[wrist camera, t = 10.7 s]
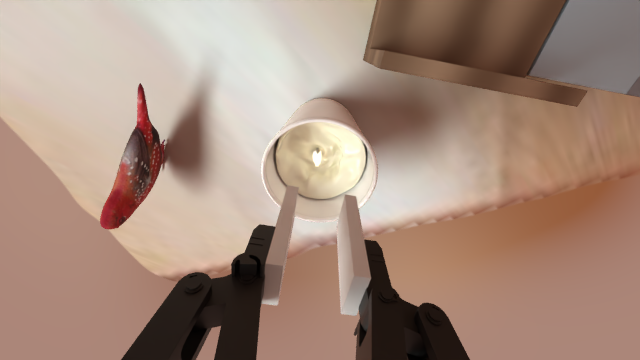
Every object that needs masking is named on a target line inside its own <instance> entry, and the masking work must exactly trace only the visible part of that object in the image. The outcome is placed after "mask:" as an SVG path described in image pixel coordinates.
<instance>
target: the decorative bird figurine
mask: <svg viewBox="0 0 640 360" xmlns="http://www.w3.org/2000/svg"><path fill="white" fill-rule="evenodd" d="M137 104H138V105H137V108H138V110H137V112H138V113H137V126H136V127H135V129H134V131H133V132H132V134H131V137H130V139H129V141H128V143H127V145H126V148H125V151H124V153H123V156H122V159H121V162H120V165H119V169H118V173H117V176H116V179H115V183H114V186H113V189H112V191H111V193H110V195H109V197H108V199H107V201H106V203H105V205H104V207H103V210H102V214H101V218H100V223H101V226H102V227H103V228H105V229H114V228H118V227H119V226H120V225H122V224H123V223H124V222H125V221H126V220H127V219H128V218H129V217H130V216H131V215H132V214H133V212H134V211H135V210H136V209H137V207H138V206H139V205H140V204H141V203H142V202H143V201H144V199H145V198H146V197H147V195H148V194H149V192H150V191H151V189H152V187H153V185H154V183H155V181H156V179H157V177H158V174H159V171H160V168H161V164H162V163H163V161H164V146H165V145H163V144H164V141H165V139H164V141H163V142H162V144H160V139H159V134H158V132H157V130H156V129H155V128H154V127H153V125H152V124H151V122H150V120H149V116H148V111H147V105H146V100H145V94H144V89H143V87H142V85H141V83H140V84H139V87H138V102H137Z"/></svg>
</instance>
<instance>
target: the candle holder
mask: <svg viewBox="0 0 640 360" xmlns="http://www.w3.org/2000/svg"><path fill="white" fill-rule="evenodd" d="M261 175H262V180H263V184H264V187H265V189H266V191H267V193H268V195H269V196H270V198H271V199H272V200H273V202H274V203H275V204H276V205H277V206H278V207H279V208H281V206H282V203H283V199H284V196H285V192H286V189H287V185H289V186H296V187H299V190H298V196H297V203H296V210H295V216H294V217H296V218H299V219H302V220H305V221H310V222H331V221H336V220H338V219H339V215H340V211H341V207H342V204H343V200H344V196H345V194H346V195H352V196H356V199H357V204H358V209H360V208H361V207H362V206H363V205H364V204H365V203H366V202H367V201H368V199H369V198H370V196H371V195H372V193H373V191H374V189H375V186H376V182H377V177H378V164H377V159H376V156H375V153H374V151H373V149H372V147H371V145H370V143H369V142H368V141H367V139H366V138H365V137H364V135H363V133H362V132H361V130H360V128H359V126H358V125H357V123H356V121H355V120H354V118H353V116H352V115H351V113H350V112H349V111H348V110H347V109H346V108H345V107H344V106H343V105H342V104H340V103H338V102H336V101H334V100H331V99H325V98H319V99H313V100H310V101H308V102H306V103H304V104H303V105H301V106H300V107H299V108H298V109H297V110H296V111H295V112H294V113H293V114H292V116H291V117H290V118H289V119H288V121H287V122H286V123H285V125H284V126H283V127H282V128H281V130H280V131H279V132H278V133H277V134H276V135H275V136H274V137H273V138H272V140H271V141H270V142H269V144H268V146H267V148H266V150H265V152H264V155H263V158H262V164H261Z"/></svg>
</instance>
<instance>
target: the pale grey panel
mask: <svg viewBox="0 0 640 360" xmlns="http://www.w3.org/2000/svg"><path fill="white" fill-rule="evenodd" d="M526 75H529V76H534V77H539V78H544V79H549V80H554V81H560V82H565V83H570V84H575V85H580V86H585V87H590V88H596V89H601V90H606V91H611V92H616V93H621V94H626V95H632V96H638V97H640V0H566V1H565V3H564V5H563V7H562V9H561V11H560V13H559V15H558V16H557V18H556V20H555V22H554V24H553V26H552V28H551V29H550V31H549V33H548V35H547V37H546V39H545V41H544V43H543V44H542V46H541V48H540V50H539V52H538V54H537V56H536V57H535V59H534V61H533V63H532V65H531V67H530V69H529V71H528V72H527V74H526Z"/></svg>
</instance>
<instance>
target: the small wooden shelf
mask: <svg viewBox="0 0 640 360" xmlns="http://www.w3.org/2000/svg"><path fill="white" fill-rule="evenodd" d="M565 1H566V0H377V2H376V6H375V11H374V15H373V19H372V24H371V28H370V32H369V37H368V41H367V45H366V49H365V54H364V58H363V60H364V61H366V62H368V63H370V64H372V65H374V66H376V67H378V68H380V69H385V70H390V71H396V72H401V73H406V74H411V75H416V76H421V77H427V78H432V79H437V80H442V81H447V82H452V83H458V84H463V85H468V86H473V87H478V88H483V89H488V90H494V91H499V92H504V93H509V94H514V95H519V96H525V97H530V98H535V99H540V100H545V101H550V102H556V103H561V104H566V105H571V106H576V107H577V106H578V105H579V103H580V102H581V100H582V99H583V97H584V96H585V94H586V93H587V91H586V90H581V89H576V88H571V87H566V86H561V85H556V84H551V83H546V82H541V81H536V80H531V79H526V78H525V76H526V74H527V72H528V71H529V69H530V67H531V65H532V63H533V61H534V59H535V57H536V56H537V54H538V52H539V50H540V48H541V46H542V44H543V43H544V41H545V39H546V37H547V35H548V33H549V31H550V29H551V28H552V26H553V24H554V22H555V20H556V18H557V16H558V15H559V13H560V11H561V9H562V7H563V5H564V3H565Z"/></svg>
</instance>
